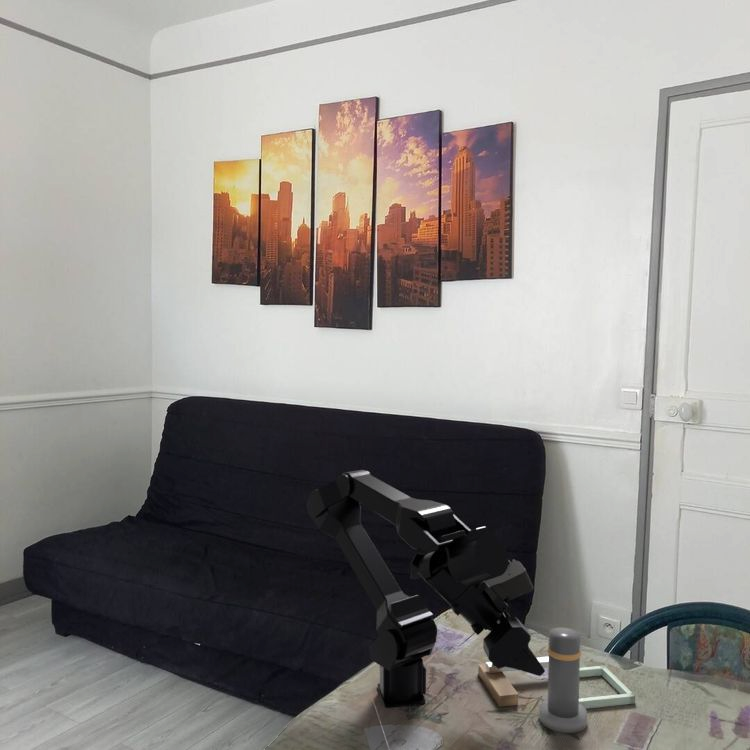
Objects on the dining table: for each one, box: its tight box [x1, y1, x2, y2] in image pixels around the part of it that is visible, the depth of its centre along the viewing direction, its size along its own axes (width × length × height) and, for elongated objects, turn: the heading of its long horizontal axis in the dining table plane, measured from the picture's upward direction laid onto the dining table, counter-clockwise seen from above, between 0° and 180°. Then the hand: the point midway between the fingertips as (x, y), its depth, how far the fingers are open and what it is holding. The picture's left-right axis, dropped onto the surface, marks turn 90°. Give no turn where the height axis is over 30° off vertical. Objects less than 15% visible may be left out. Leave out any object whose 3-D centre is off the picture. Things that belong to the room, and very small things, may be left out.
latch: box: [485, 656, 549, 673], centre depth 115 cm, size 13×2×2 cm, turn 100°
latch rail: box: [477, 663, 519, 707], centre depth 112 cm, size 3×10×2 cm, turn 10°
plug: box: [538, 627, 588, 734], centre depth 103 cm, size 7×7×13 cm
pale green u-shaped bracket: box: [579, 665, 636, 710], centre depth 112 cm, size 10×10×1 cm
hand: (532, 657), depth 103 cm, fingers open, 9 cm apart
